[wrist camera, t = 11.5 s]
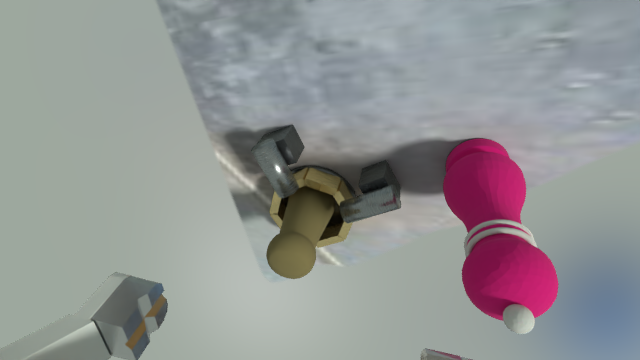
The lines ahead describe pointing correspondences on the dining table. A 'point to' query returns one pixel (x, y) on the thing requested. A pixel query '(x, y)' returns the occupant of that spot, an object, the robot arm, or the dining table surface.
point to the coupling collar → (325, 183)
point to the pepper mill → (497, 236)
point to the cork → (300, 232)
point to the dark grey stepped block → (279, 159)
